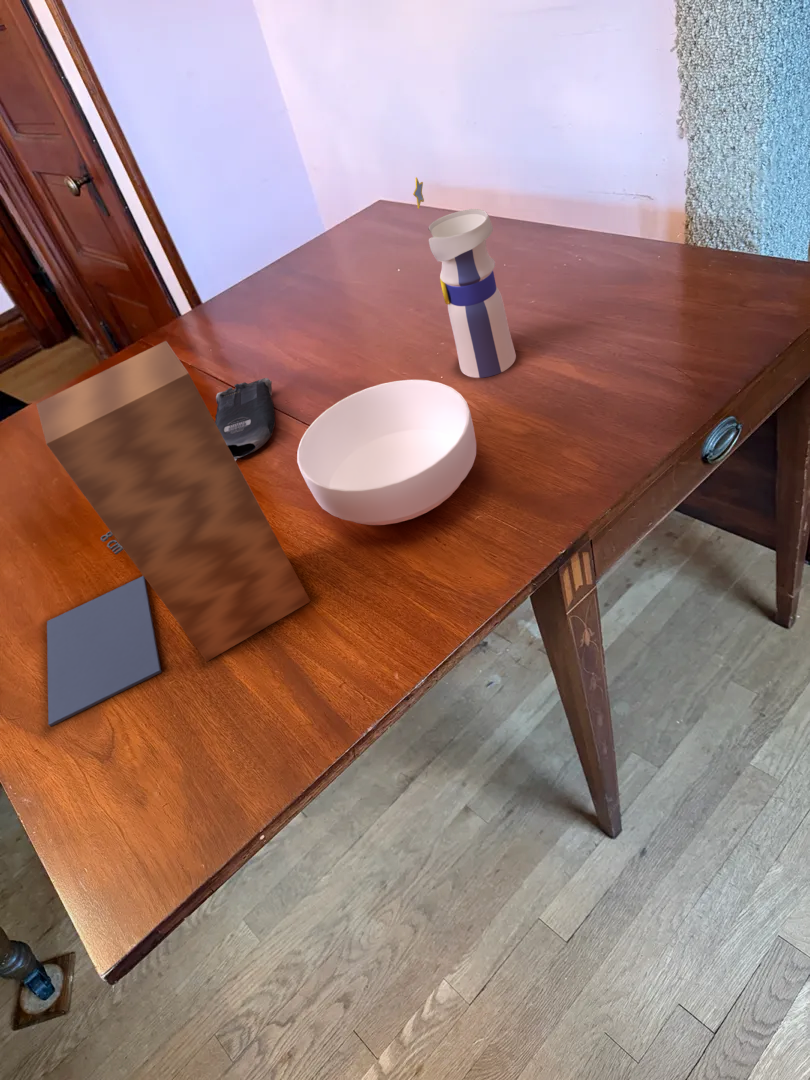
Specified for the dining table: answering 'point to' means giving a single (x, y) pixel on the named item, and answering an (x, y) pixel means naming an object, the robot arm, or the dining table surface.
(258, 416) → the electronic device
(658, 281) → the dining table surface
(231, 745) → the dining table surface
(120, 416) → the block
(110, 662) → the mouse pad
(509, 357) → the water bottle
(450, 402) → the bowl
